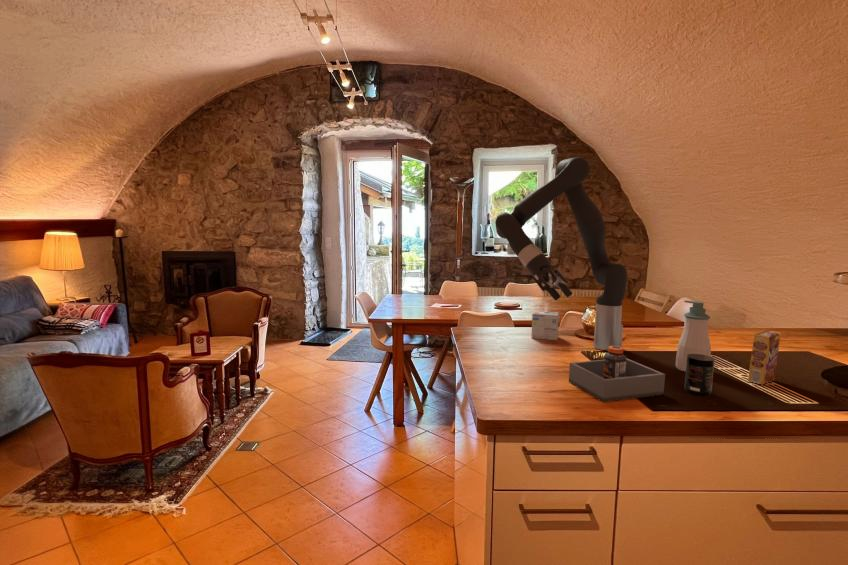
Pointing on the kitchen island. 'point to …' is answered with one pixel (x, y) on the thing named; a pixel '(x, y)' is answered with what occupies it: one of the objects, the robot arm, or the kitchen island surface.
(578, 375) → the tote
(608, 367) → the pill bottle
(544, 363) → the kitchen island surface
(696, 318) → the soap bottle
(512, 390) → the kitchen island surface
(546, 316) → the light bulb box
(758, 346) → the candy box
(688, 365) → the supplement container
